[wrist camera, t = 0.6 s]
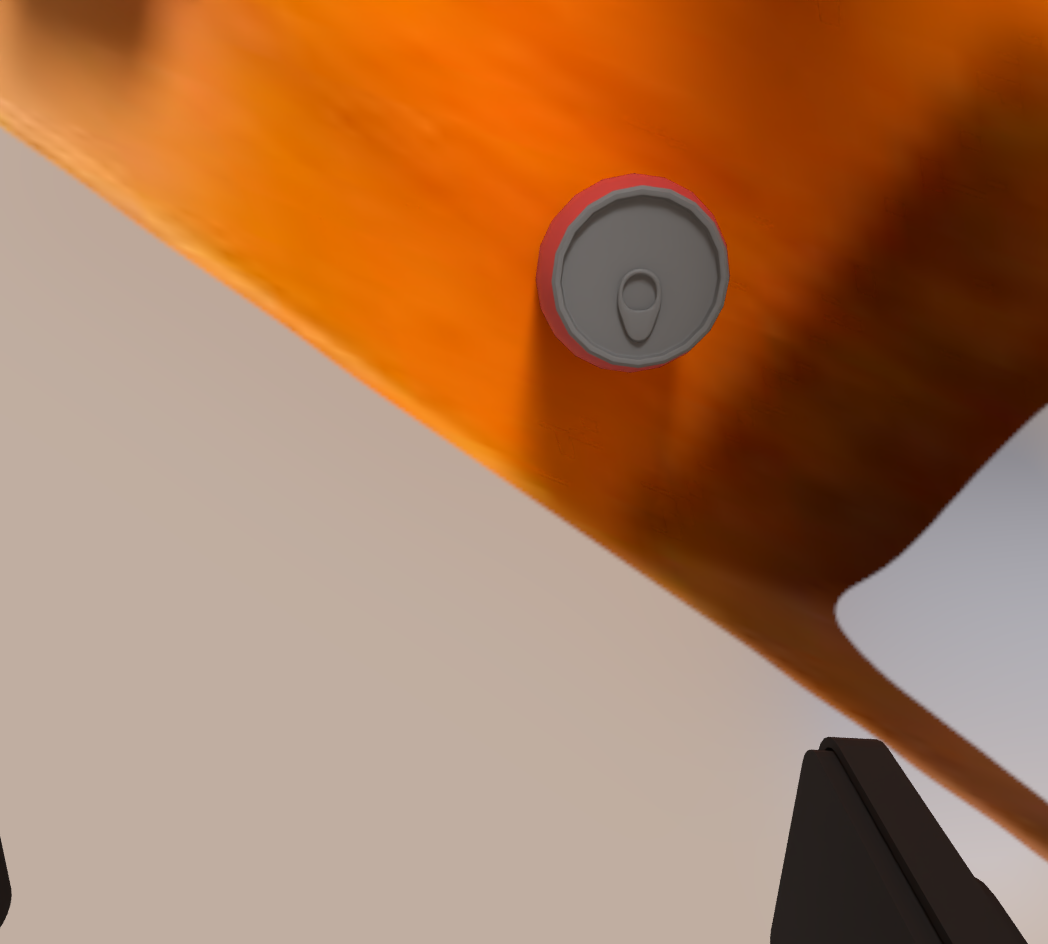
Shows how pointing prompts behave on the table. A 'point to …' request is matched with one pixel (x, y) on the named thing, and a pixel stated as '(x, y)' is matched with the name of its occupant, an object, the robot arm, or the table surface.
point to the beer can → (632, 273)
